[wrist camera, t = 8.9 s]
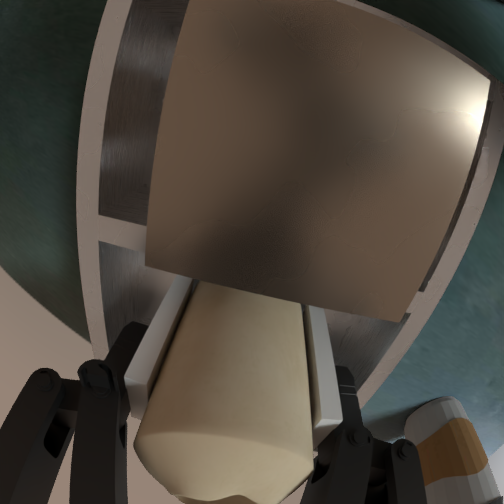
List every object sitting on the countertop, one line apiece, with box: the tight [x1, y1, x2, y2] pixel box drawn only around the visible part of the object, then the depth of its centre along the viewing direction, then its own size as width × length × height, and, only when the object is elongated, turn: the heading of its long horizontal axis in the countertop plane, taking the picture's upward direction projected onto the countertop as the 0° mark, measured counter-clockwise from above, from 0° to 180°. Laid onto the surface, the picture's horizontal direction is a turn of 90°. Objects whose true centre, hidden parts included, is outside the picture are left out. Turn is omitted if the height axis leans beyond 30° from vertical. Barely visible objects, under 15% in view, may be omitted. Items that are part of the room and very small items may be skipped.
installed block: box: [145, 0, 490, 322], centre depth 8 cm, size 5×5×8 cm
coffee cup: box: [404, 396, 503, 504], centre depth 15 cm, size 8×8×15 cm
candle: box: [133, 280, 314, 504], centre depth 10 cm, size 6×6×10 cm
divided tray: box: [76, 0, 504, 409], centre depth 12 cm, size 20×14×5 cm
